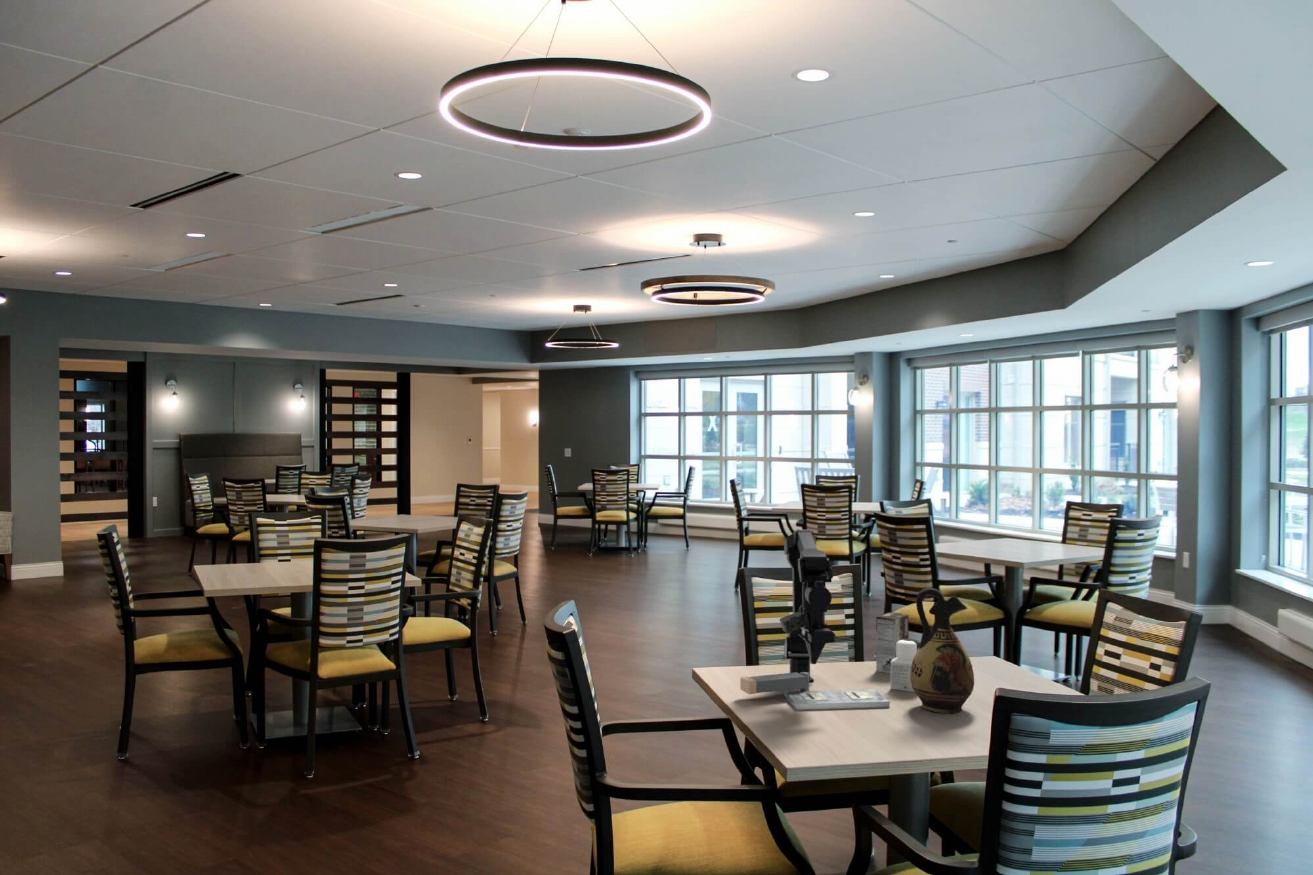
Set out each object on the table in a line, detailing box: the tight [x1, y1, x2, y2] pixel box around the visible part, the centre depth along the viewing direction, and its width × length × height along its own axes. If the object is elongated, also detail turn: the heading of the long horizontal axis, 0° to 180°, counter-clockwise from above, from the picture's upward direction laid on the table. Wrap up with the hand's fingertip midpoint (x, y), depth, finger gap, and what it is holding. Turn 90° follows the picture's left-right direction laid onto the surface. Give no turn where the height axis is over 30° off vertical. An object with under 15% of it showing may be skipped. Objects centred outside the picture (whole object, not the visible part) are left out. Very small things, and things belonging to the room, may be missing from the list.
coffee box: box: [875, 611, 909, 675], centre depth 281 cm, size 9×6×16 cm
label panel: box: [784, 688, 891, 711], centre depth 246 cm, size 12×24×2 cm, turn 97°
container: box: [890, 638, 921, 693], centre depth 261 cm, size 8×8×13 cm
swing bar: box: [739, 672, 810, 695], centre depth 251 cm, size 19×5×5 cm, turn 111°
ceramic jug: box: [910, 587, 975, 715], centre depth 241 cm, size 17×15×30 cm
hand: (813, 663), depth 245 cm, fingers closed
